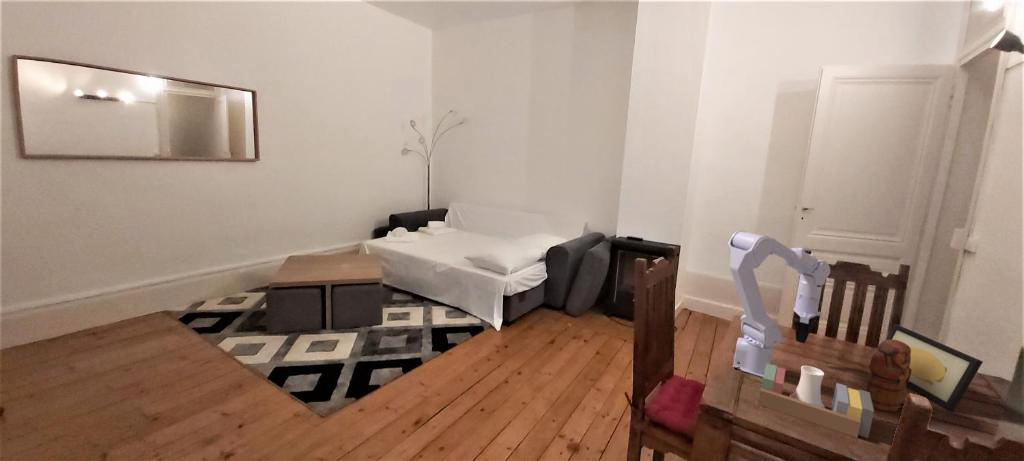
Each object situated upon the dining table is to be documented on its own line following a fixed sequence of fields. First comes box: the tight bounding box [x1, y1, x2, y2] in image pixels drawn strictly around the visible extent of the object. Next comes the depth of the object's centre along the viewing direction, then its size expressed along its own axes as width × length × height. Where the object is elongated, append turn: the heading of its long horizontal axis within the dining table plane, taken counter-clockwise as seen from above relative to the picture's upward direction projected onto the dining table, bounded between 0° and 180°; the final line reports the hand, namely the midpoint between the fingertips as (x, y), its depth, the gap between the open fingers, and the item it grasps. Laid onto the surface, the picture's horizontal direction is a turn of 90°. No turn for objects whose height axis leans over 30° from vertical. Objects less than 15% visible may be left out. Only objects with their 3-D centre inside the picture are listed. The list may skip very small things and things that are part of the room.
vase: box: [788, 365, 825, 408], centre depth 105 cm, size 8×8×10 cm
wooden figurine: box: [865, 339, 912, 412], centre depth 106 cm, size 12×6×18 cm, turn 118°
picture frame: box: [885, 323, 984, 412], centre depth 116 cm, size 23×9×15 cm, turn 1°
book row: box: [758, 363, 875, 439], centre depth 103 cm, size 22×12×7 cm, turn 53°
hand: (800, 337), depth 125 cm, fingers open, 7 cm apart
